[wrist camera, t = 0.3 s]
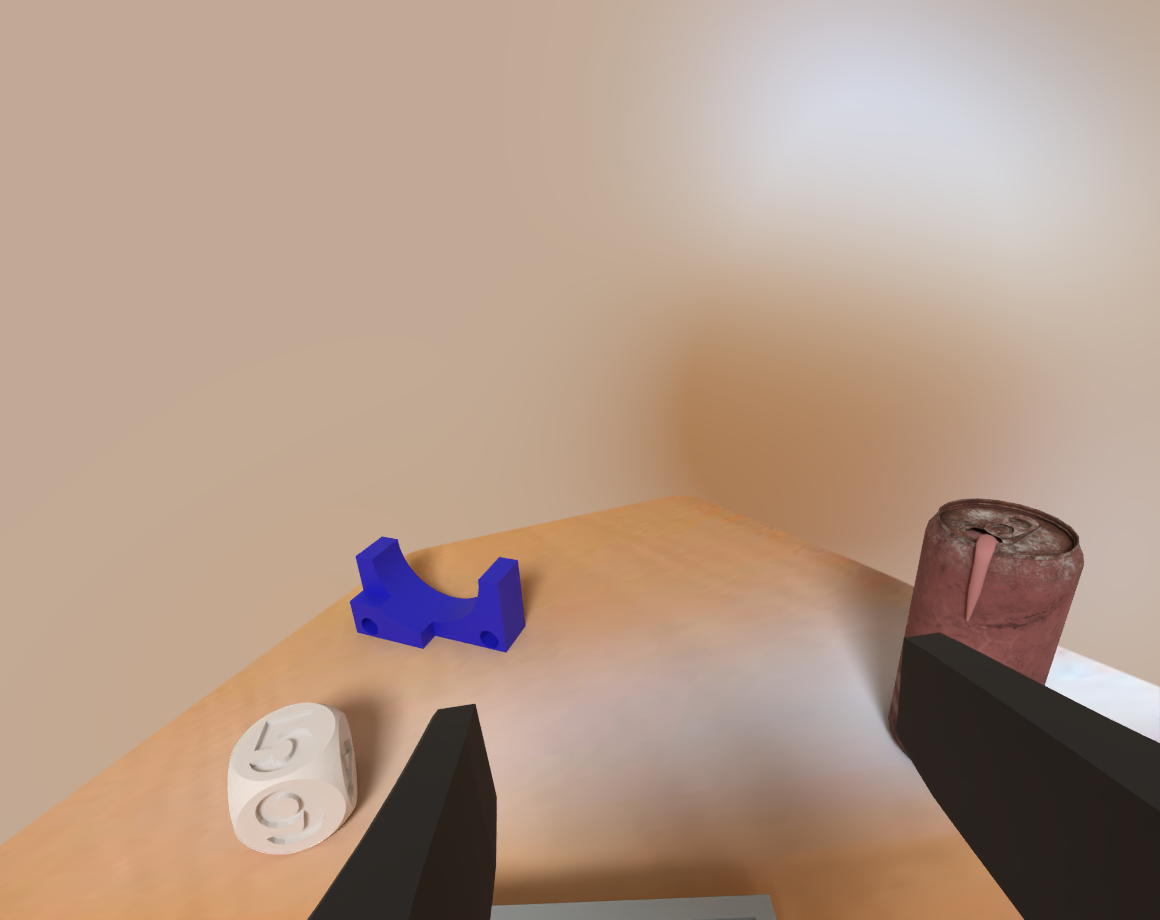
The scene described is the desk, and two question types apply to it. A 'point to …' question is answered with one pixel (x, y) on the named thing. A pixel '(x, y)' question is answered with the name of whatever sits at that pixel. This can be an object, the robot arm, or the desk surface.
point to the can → (995, 584)
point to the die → (292, 779)
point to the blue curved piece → (435, 603)
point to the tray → (645, 909)
